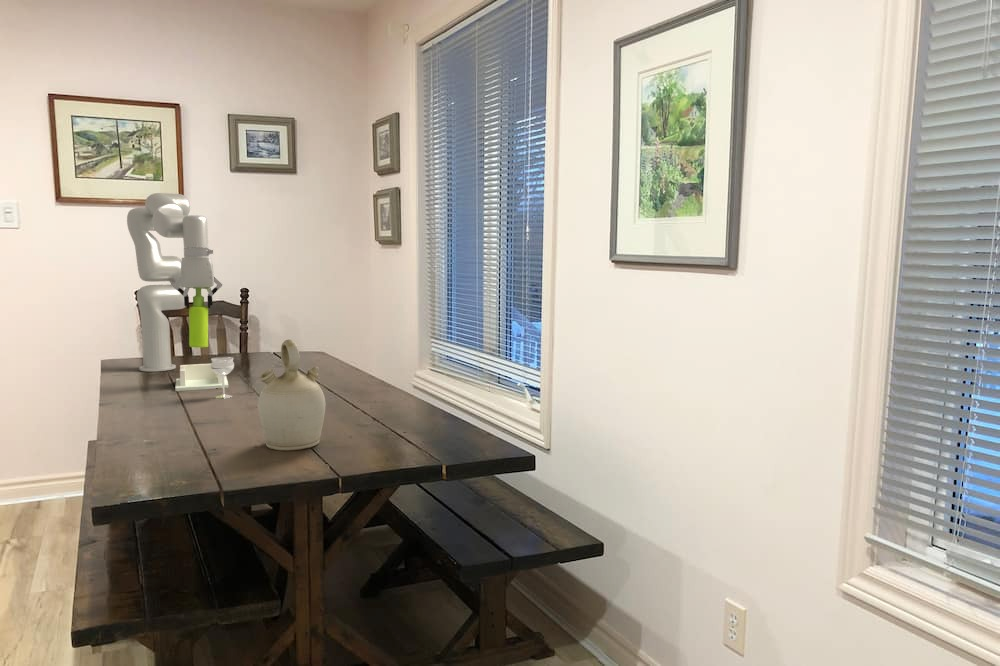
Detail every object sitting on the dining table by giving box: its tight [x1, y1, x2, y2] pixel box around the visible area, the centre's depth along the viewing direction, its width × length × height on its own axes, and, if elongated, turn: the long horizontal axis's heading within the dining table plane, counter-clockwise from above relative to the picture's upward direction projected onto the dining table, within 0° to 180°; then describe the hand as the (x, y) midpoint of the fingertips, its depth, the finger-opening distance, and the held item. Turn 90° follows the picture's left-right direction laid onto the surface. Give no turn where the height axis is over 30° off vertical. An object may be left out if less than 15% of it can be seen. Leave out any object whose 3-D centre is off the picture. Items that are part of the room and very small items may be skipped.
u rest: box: [174, 363, 229, 392], centre depth 250 cm, size 18×16×6 cm
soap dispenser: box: [188, 287, 211, 348], centre depth 248 cm, size 6×7×20 cm
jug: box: [257, 339, 327, 452], centre depth 175 cm, size 15×16×25 cm
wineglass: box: [210, 356, 235, 399], centre depth 229 cm, size 7×7×12 cm
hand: (198, 307), depth 247 cm, fingers closed on soap dispenser, 5 cm apart
